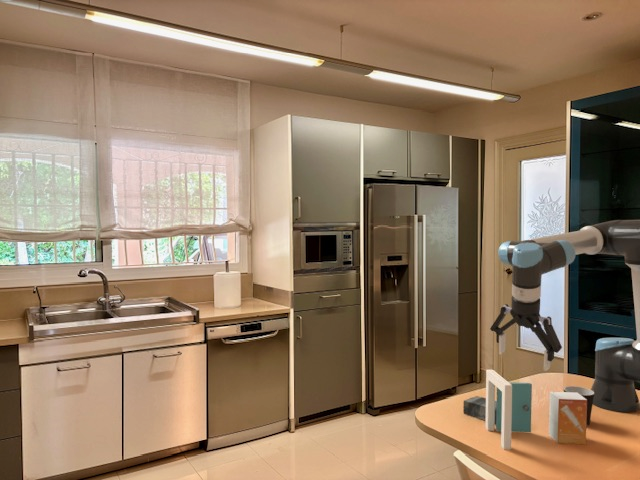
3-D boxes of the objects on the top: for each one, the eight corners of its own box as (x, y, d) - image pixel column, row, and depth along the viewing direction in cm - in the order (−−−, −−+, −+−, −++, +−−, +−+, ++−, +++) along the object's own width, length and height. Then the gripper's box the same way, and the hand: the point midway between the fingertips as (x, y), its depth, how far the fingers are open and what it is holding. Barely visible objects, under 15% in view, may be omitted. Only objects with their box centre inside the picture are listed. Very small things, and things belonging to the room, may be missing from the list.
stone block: (478, 408, 165) (478, 393, 165) (518, 421, 154) (518, 405, 154) (463, 414, 159) (463, 398, 159) (503, 428, 148) (503, 411, 148)
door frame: (491, 427, 148) (492, 369, 148) (511, 449, 134) (512, 385, 133) (485, 427, 148) (486, 369, 148) (503, 449, 134) (504, 385, 133)
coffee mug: (592, 429, 147) (593, 397, 147) (561, 423, 152) (562, 391, 152) (594, 417, 157) (595, 386, 157) (565, 411, 162) (565, 381, 161)
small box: (557, 443, 138) (558, 398, 137) (548, 434, 144) (549, 391, 144) (586, 444, 137) (587, 399, 137) (576, 435, 143) (577, 391, 143)
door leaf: (496, 429, 146) (496, 381, 145) (529, 430, 145) (530, 382, 145) (498, 432, 143) (499, 384, 143) (532, 434, 143) (533, 385, 142)
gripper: (478, 290, 143) (478, 351, 151) (566, 315, 125) (561, 383, 133) (491, 281, 148) (491, 341, 155) (577, 303, 130) (572, 369, 137)
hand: (523, 360), depth 144 cm, fingers open, 13 cm apart
